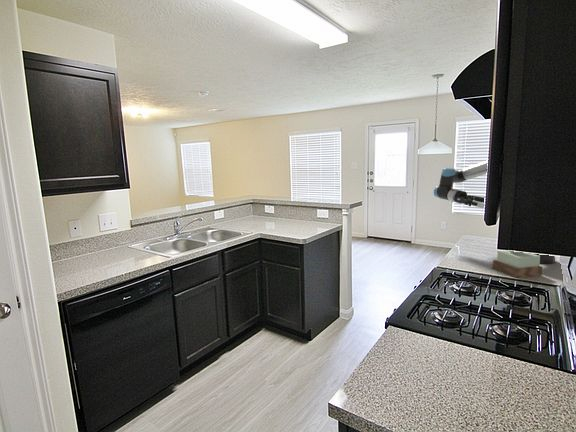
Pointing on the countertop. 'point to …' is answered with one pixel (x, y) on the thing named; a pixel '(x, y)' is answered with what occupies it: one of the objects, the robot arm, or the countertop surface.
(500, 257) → the tower top
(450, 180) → the robot arm
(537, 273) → the tower base
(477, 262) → the countertop surface
